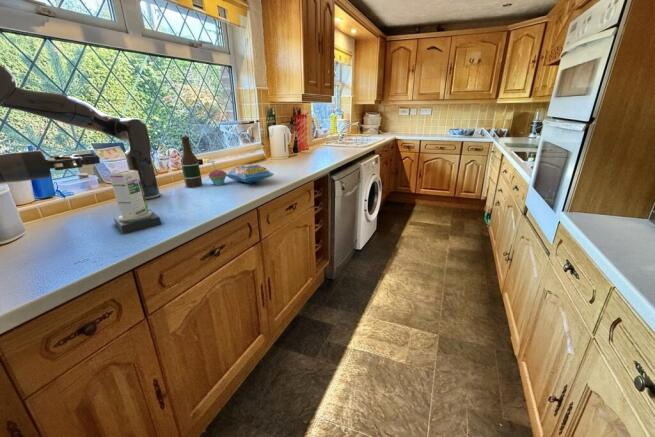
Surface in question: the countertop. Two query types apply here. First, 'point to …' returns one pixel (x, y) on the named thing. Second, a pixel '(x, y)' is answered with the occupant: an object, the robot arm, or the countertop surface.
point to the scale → (137, 222)
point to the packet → (249, 173)
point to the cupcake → (217, 176)
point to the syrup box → (129, 193)
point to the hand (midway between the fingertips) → (96, 157)
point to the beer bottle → (190, 165)
